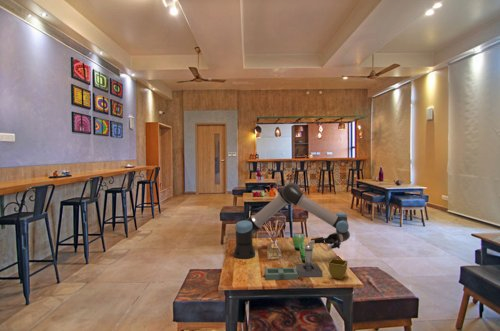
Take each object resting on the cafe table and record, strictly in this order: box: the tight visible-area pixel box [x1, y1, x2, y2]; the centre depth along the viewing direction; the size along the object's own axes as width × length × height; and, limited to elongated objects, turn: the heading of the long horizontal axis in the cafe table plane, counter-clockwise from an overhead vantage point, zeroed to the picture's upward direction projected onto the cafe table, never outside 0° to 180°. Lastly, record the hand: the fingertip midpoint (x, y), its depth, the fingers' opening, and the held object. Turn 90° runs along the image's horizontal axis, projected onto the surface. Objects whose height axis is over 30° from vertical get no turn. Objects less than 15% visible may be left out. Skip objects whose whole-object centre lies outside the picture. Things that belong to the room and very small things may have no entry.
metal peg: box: [304, 244, 313, 270], centre depth 177 cm, size 4×4×16 cm
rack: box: [264, 266, 299, 281], centre depth 173 cm, size 10×18×3 cm, turn 91°
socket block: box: [295, 263, 323, 278], centre depth 177 cm, size 13×13×3 cm
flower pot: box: [327, 258, 348, 280], centre depth 169 cm, size 9×9×9 cm
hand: (318, 246), depth 184 cm, fingers open, 13 cm apart
